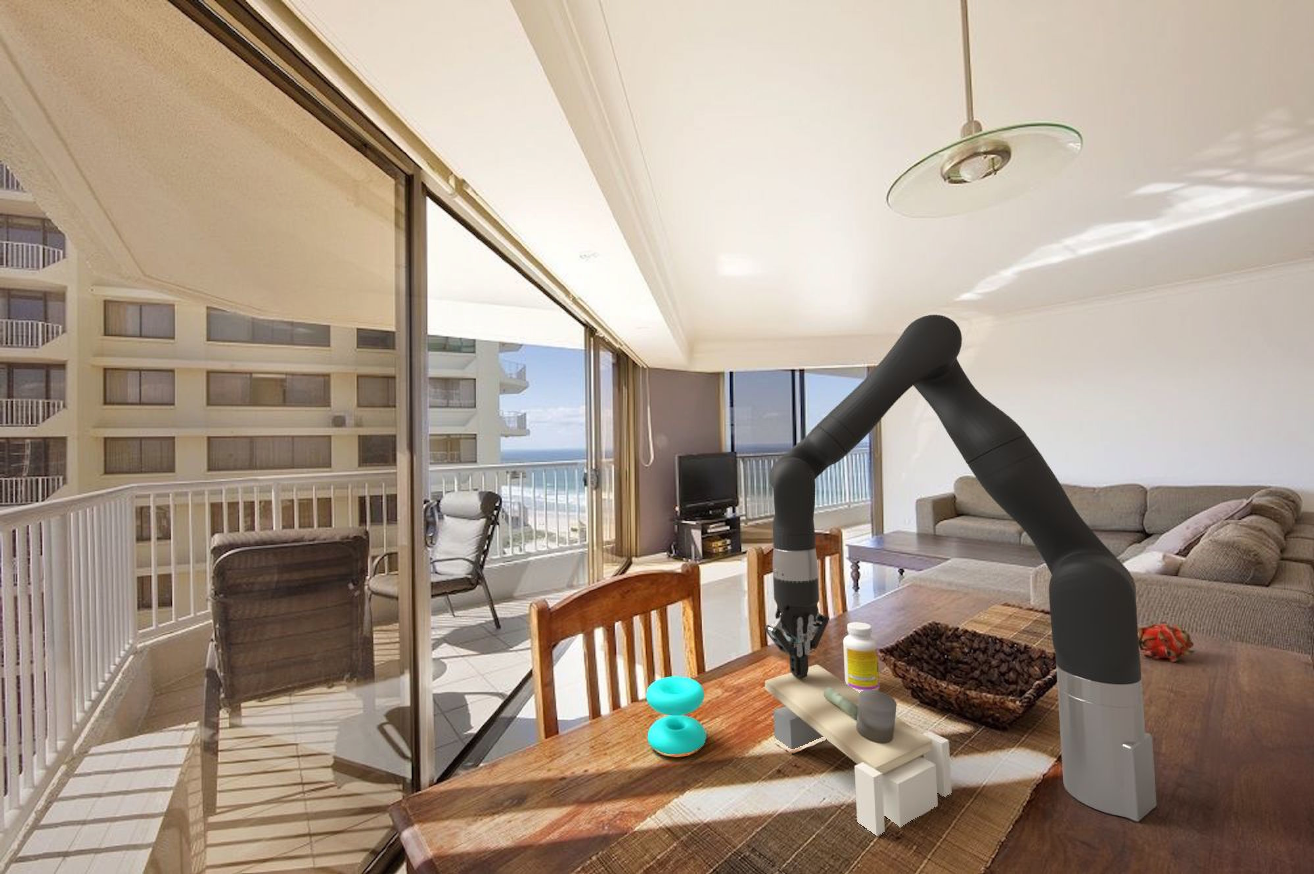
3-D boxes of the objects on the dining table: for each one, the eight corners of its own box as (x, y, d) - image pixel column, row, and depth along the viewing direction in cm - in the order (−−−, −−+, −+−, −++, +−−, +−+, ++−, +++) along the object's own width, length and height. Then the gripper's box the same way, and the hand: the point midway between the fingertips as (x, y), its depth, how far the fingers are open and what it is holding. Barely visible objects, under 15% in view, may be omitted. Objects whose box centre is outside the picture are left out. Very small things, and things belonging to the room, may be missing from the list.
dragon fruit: (1197, 665, 118) (1146, 676, 118) (1162, 632, 125) (1113, 642, 125) (1215, 642, 113) (1162, 654, 113) (1177, 609, 120) (1127, 620, 120)
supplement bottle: (885, 695, 106) (881, 630, 107) (851, 696, 107) (848, 631, 107) (872, 680, 113) (869, 619, 113) (840, 681, 113) (838, 620, 114)
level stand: (955, 795, 75) (952, 741, 76) (879, 839, 67) (876, 779, 68) (825, 723, 96) (823, 681, 96) (756, 750, 88) (754, 705, 89)
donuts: (692, 670, 98) (712, 693, 88) (694, 725, 97) (715, 754, 88) (640, 678, 95) (654, 703, 86) (642, 735, 95) (656, 766, 85)
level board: (930, 750, 76) (935, 708, 75) (874, 777, 70) (879, 732, 70) (816, 671, 95) (819, 637, 94) (764, 688, 89) (767, 652, 89)
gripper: (781, 584, 85) (785, 694, 84) (839, 572, 91) (844, 674, 91) (750, 575, 91) (755, 677, 91) (807, 565, 98) (811, 660, 97)
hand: (799, 675), depth 91 cm, fingers closed
